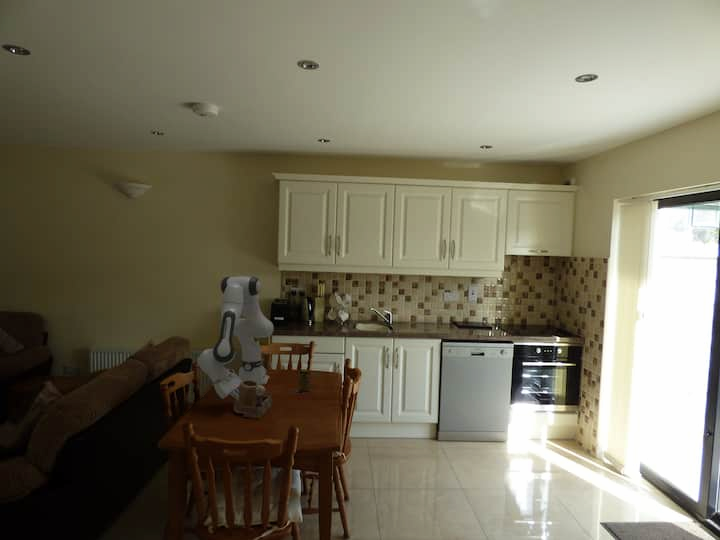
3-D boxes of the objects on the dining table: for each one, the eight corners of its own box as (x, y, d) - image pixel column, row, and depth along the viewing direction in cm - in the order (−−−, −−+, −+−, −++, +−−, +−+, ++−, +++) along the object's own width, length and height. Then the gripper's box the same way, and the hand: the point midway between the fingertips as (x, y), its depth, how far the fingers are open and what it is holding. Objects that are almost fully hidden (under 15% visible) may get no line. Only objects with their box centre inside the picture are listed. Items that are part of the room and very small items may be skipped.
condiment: (305, 388, 264) (306, 368, 263) (313, 392, 257) (313, 371, 257) (294, 390, 259) (295, 370, 259) (302, 394, 253) (303, 373, 252)
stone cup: (258, 414, 219) (258, 384, 219) (232, 416, 217) (233, 385, 216) (257, 404, 234) (258, 376, 233) (234, 405, 231) (235, 376, 231)
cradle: (257, 404, 234) (258, 375, 234) (274, 405, 233) (275, 376, 232) (243, 417, 215) (244, 386, 215) (262, 418, 214) (262, 387, 214)
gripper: (216, 379, 216) (235, 400, 215) (234, 368, 236) (251, 388, 235) (207, 387, 216) (226, 409, 215) (225, 376, 237) (242, 395, 236)
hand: (239, 398), depth 225 cm, fingers closed
